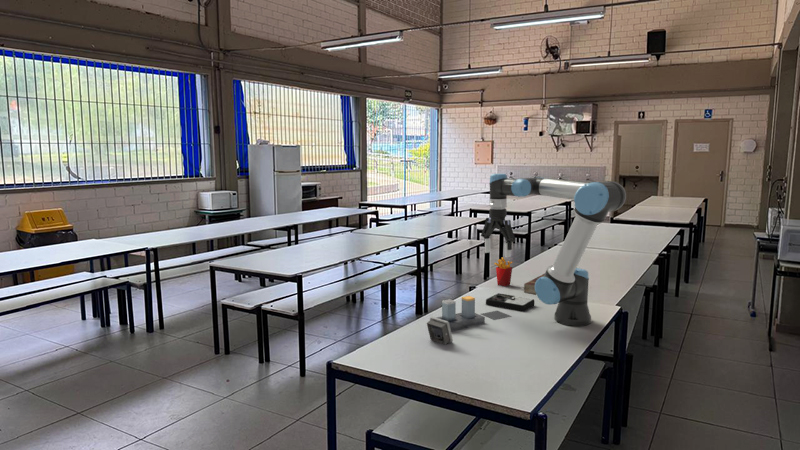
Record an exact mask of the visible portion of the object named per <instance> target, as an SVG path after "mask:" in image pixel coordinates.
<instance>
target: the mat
mask: <svg viewBox="0 0 800 450" xmlns="http://www.w3.org/2000/svg"><path fill="white" fill-rule="evenodd" d="M480 315H481V316H484V317H485V318H488V319H491V320H493V321H496V320H501V319H507V318H512V315H510V314H508V313H505V312H502V311H499V310H493V311H489V312H487V311H486V312H484V313H480Z"/></svg>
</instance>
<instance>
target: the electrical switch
mask: <svg viewBox="0 0 800 450" xmlns="http://www.w3.org/2000/svg"><path fill="white" fill-rule="evenodd" d="M426 326H427V330H428V333H429V334H428V335H429V340H431V341H433V342H436V343H439V344H441V345H442V344H443V345H447V344H448V343H450V344H451V343H453V341H454V339H453V335H452V334H453V333H452V331H451V329H450V325H449V322H448V321H445V320H442V319H438V318H436V317H435V316H431V317H430V318H429V321H427V322H426Z"/></svg>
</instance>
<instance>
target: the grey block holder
mask: <svg viewBox="0 0 800 450" xmlns="http://www.w3.org/2000/svg"><path fill="white" fill-rule="evenodd" d="M441 302H442V303H441V305H442V306H441V316H438V317H435V318H438V319H442V320H445V321H448V322H449V325H450V329H451V332H453V331H457V330H461V329H467V328H469V327H473V326H478V325H482V324H485V321H486V320H485V319H486V316H483V315H481V314H478V313H477V312H475V317H472V318H464V317H462V312H459V313H457V312H456V309H457V308H456V306H457V305H456V301H455V300H453V299H444V300H442V301H441Z"/></svg>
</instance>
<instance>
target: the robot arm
mask: <svg viewBox="0 0 800 450" xmlns="http://www.w3.org/2000/svg"><path fill="white" fill-rule="evenodd" d="M489 176H490V177H489V217H486V218H485V222H484V225H483V228H482V231H481V234H480V236H481V237H482V238H483V239H484V241H483V242H484V253H485V254H487V253H488V254H489V253H491V241H492V240H491V236H492V233H494V231H495V230H499V231H500V232H501V234H502V236H503V238H504V239H505V241H506V242H505V243H504V244H505V245H504V257H505V258H511V257H512V249H513V246H512V245H513V243H514V242H516V241H517V240H516V236H515V233H514V231H513V227H512V223H511V220H510V219H507V220H506V217H507V206H508V205H507V204H508V203H507V199H508V197H507V196H510V197H517V198H520V197H528V196H533V195H535V196H544V197H550V198H551V197H552V198H559V199H565V200H573V203H574V209H573V211H574V214H575V217H574V219H573V221H572V224H571V226H570V227H569V229H568V233H567V234H566V237H565V239H564V241H563V242H562V245H561V247H560V250H559V252H558V254H557V255H556V259H554V260H555V261H554V262H553V264H552V265H549V266H547V268H546V270H545V273H544V274H545V275H544V276H543V277H540V278H539V279H537V281H536V283H535V292H536V294H535V295H536V297H537V298H538V299H539V300H540V302H542V303H543V304H545V305H549V306H550V305H557V306H556V309H555V312H554V316H553V319H554V321H556V322H557V323H558V324H561V325H565V326H571V327H572V326H573V327H575V326H576V327H582V326H587V325H588V326H589V325H590V324H591V323H592V315H591V314H590V309H589V305H588V300H589V280H590V278H589V271H588V270H586V269H585V268H584V269H583V268H580V267H578V266H579V263H580V261H581V259H582V257H583V256H584V254H585V251H586V249H587V248H588V245H589V243H590V241H591V239H592V237H593V235H594V233H595V231H596V228H597V226H598V225H599V224H602V223H604V222H605V220H606V218H607V215H608V214H609V213H610V212H615V211H617V210H619V209H621V208H622V207H623V205H624V204H625V202H626V199H627V194H626V193H627V192H626V190H625V188H624V187H623V186H622V184H620V183H619V182H617V181H608V180H607V181H591V182H580V181H572V180H571V181H570V180H562V179H561V180H560V179H552V178H545V177H539V176H536V177H524V178H523V177H522V178H508V175H507V173H492V174H490V175H489Z"/></svg>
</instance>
